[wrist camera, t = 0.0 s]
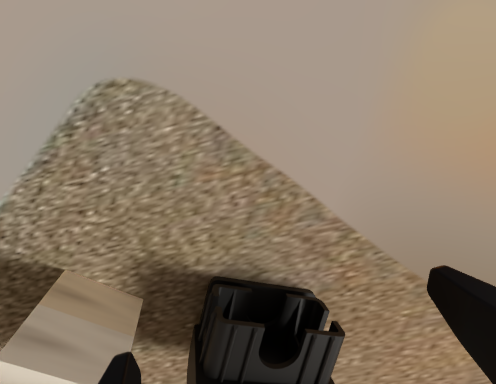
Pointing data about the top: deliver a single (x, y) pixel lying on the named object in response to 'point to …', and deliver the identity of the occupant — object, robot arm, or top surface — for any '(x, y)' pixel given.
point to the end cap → (262, 336)
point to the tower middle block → (59, 350)
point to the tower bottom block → (94, 302)
